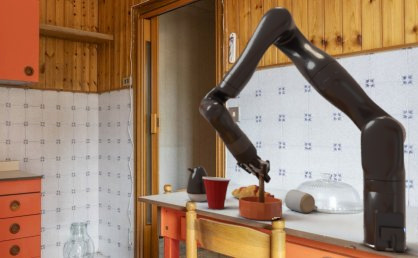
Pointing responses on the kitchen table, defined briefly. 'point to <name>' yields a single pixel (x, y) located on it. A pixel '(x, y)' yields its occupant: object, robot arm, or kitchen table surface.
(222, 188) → the plastic cup
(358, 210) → the kitchen table surface
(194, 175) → the pump dispenser
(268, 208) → the bowl
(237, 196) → the croissant
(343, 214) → the kitchen table surface
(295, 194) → the ceramic mug
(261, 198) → the wooden peg stand
